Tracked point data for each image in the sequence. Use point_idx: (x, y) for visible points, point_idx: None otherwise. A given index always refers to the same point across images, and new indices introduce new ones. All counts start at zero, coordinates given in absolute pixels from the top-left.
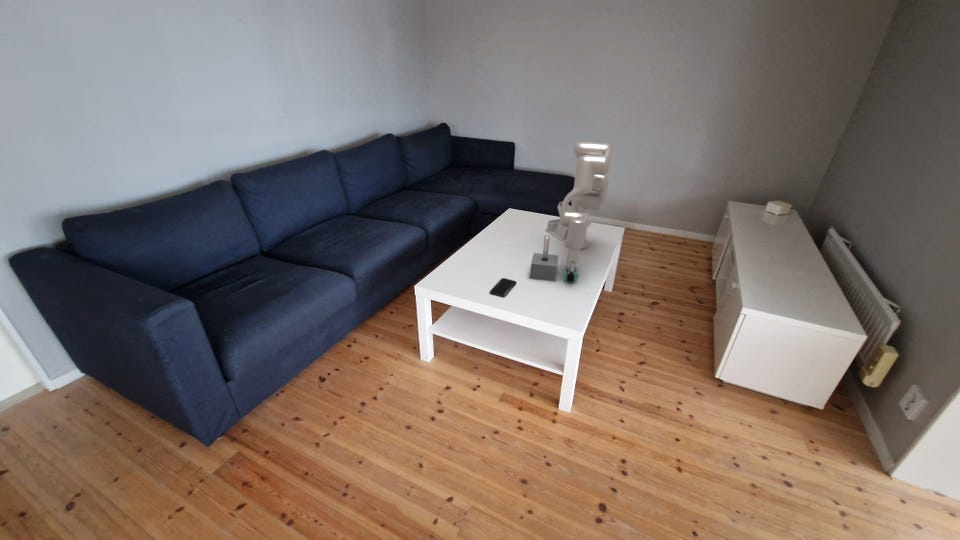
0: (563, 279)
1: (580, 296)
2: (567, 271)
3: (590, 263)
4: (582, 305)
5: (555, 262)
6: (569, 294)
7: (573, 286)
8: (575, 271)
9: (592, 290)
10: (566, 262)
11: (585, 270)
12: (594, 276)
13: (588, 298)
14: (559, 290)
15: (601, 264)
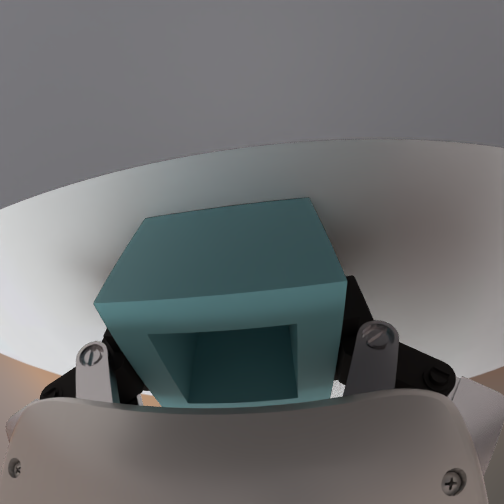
0: (137, 231)
1: (46, 345)
2: (147, 339)
3: (489, 337)
4: (3, 346)
5: (47, 91)
6: (15, 293)
7: None
8: (265, 376)
9: (148, 394)
10: (51, 492)
11: (419, 342)
12: (337, 391)
13: (62, 373)
14: (3, 224)
15: (467, 375)
